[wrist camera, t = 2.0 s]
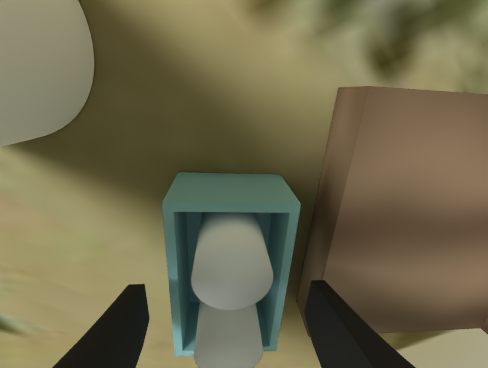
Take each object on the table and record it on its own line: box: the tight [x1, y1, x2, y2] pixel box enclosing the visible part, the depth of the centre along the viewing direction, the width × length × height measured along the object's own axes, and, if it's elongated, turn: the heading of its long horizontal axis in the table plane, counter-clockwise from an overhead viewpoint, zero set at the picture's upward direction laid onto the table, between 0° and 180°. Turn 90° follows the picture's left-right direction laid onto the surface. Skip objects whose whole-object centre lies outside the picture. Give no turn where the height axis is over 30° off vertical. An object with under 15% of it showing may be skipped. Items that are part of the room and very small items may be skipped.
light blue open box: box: [162, 172, 301, 368], centre depth 11 cm, size 9×5×5 cm, turn 177°
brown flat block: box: [296, 86, 488, 337], centre depth 12 cm, size 14×13×4 cm
